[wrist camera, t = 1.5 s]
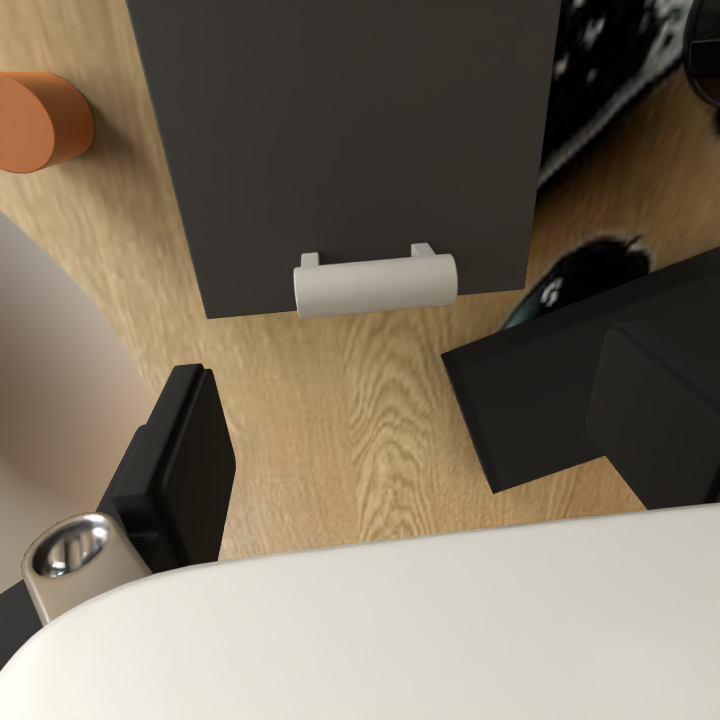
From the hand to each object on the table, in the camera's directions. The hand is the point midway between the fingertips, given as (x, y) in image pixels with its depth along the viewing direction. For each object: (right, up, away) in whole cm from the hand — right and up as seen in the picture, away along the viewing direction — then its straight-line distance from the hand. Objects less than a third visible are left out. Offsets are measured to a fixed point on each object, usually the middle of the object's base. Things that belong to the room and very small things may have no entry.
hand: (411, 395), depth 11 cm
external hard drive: (+18, 0, +29) cm, 34 cm away
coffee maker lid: (-1, +10, +6) cm, 12 cm away
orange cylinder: (-19, +15, +16) cm, 28 cm away
